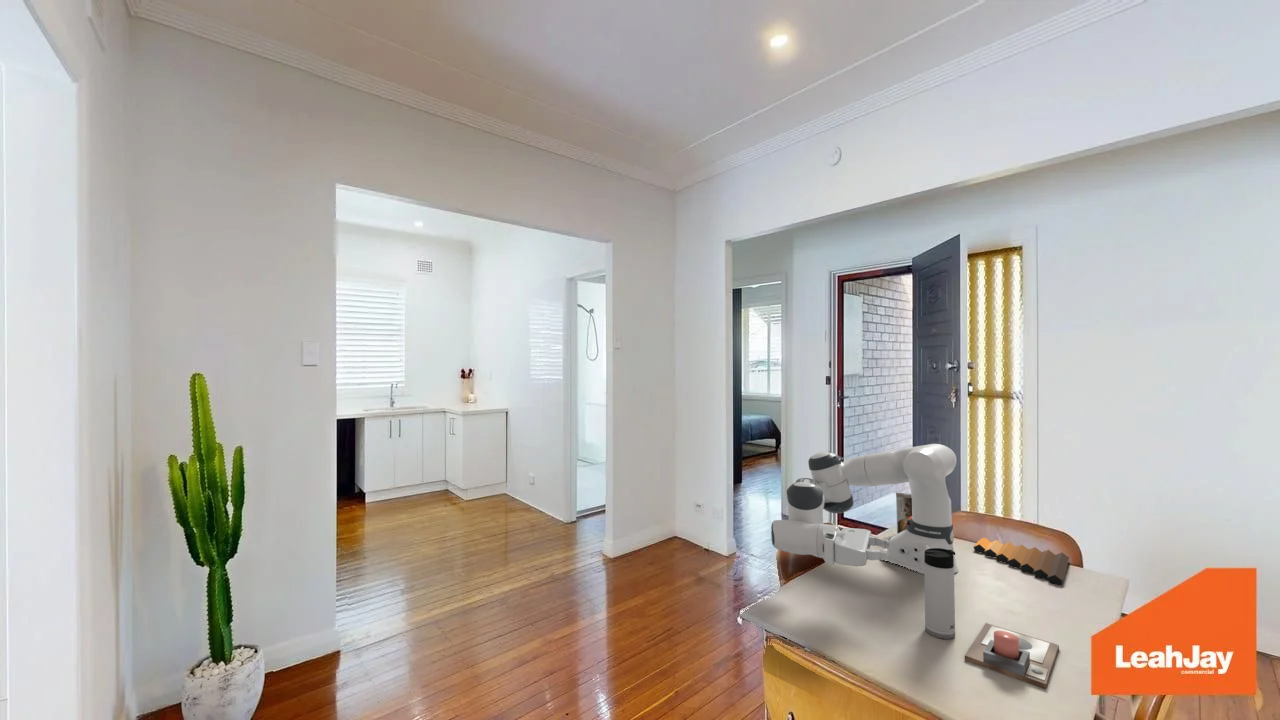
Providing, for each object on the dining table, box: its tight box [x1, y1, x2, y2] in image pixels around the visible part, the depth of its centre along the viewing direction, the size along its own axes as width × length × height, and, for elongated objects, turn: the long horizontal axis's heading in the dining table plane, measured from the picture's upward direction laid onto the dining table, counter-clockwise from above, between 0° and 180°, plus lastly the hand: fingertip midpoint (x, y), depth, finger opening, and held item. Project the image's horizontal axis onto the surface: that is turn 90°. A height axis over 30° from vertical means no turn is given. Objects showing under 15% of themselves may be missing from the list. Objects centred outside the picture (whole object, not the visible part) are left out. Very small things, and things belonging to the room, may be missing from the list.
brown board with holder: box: [964, 622, 1060, 690], centre depth 112 cm, size 14×20×3 cm
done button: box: [994, 631, 1019, 660], centre depth 107 cm, size 4×4×4 cm
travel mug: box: [923, 548, 956, 640], centre depth 121 cm, size 6×7×20 cm
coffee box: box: [895, 492, 912, 535], centre depth 189 cm, size 9×6×16 cm
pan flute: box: [973, 537, 1070, 587], centre depth 164 cm, size 25×3×25 cm
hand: (888, 549), depth 127 cm, fingers open, 8 cm apart
